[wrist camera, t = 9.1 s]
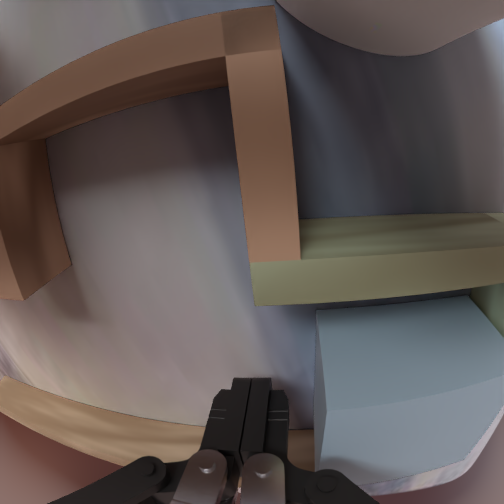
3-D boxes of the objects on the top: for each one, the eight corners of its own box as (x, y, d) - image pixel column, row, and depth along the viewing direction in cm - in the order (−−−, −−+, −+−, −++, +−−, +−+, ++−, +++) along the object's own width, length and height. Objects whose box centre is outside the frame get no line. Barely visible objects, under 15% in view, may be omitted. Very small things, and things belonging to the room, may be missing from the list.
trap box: (-65, 186, 12) (-95, 199, 9) (497, 71, 7) (552, 62, 3) (11, 384, 19) (-8, 406, 15) (439, 420, 14) (453, 461, 10)
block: (316, 309, 11) (326, 410, 7) (467, 294, 10) (524, 366, 6) (313, 405, 13) (314, 489, 9) (436, 388, 12) (463, 459, 8)
